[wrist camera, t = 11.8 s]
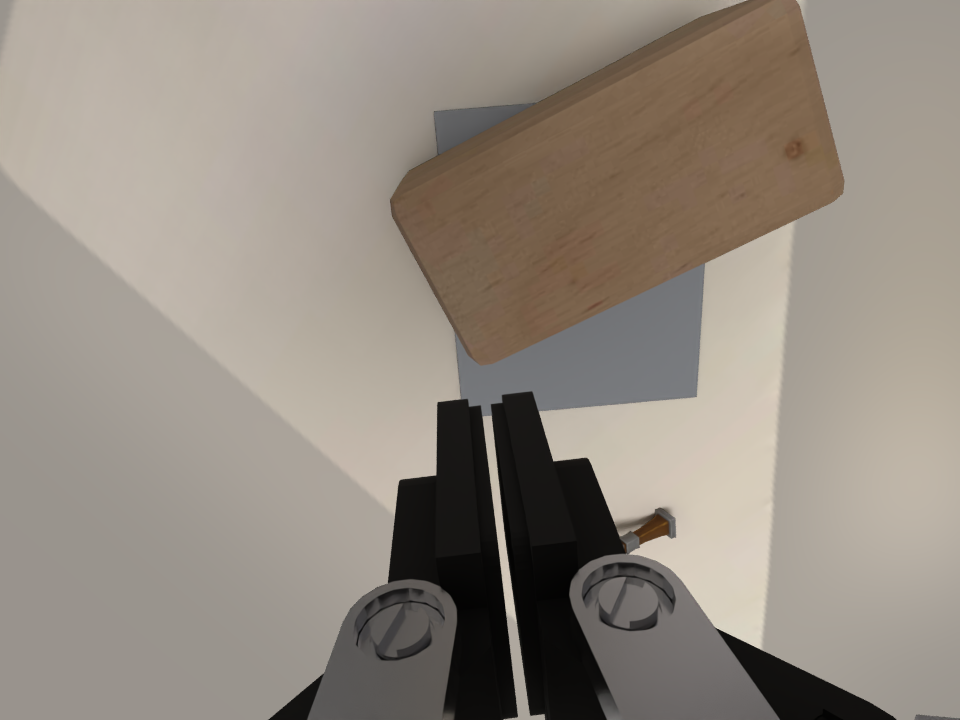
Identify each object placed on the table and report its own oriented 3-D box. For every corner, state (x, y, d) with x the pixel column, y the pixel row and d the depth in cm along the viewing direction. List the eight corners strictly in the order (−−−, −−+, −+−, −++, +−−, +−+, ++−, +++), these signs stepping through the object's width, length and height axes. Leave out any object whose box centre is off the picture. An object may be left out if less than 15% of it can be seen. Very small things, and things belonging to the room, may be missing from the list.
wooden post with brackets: (553, 531, 47) (588, 564, 44) (637, 491, 50) (677, 519, 46) (555, 550, 48) (590, 585, 44) (638, 510, 51) (678, 539, 47)
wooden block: (477, 379, 32) (859, 198, 29) (379, 199, 28) (804, -24, 26) (470, 317, 41) (760, 176, 39) (395, 176, 38) (709, 10, 35)
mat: (433, 111, 37) (433, 111, 36) (713, 88, 37) (715, 88, 37) (463, 416, 44) (463, 417, 44) (694, 395, 44) (696, 397, 44)
